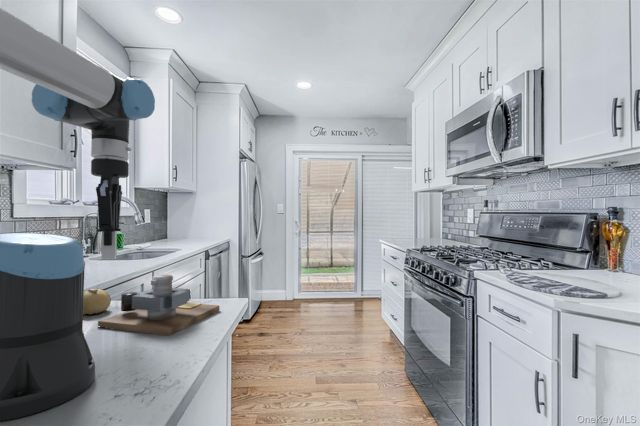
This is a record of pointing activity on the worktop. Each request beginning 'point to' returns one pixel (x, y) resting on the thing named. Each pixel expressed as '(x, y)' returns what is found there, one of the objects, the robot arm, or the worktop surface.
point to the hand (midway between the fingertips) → (109, 259)
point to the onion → (95, 301)
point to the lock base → (158, 326)
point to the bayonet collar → (154, 300)
